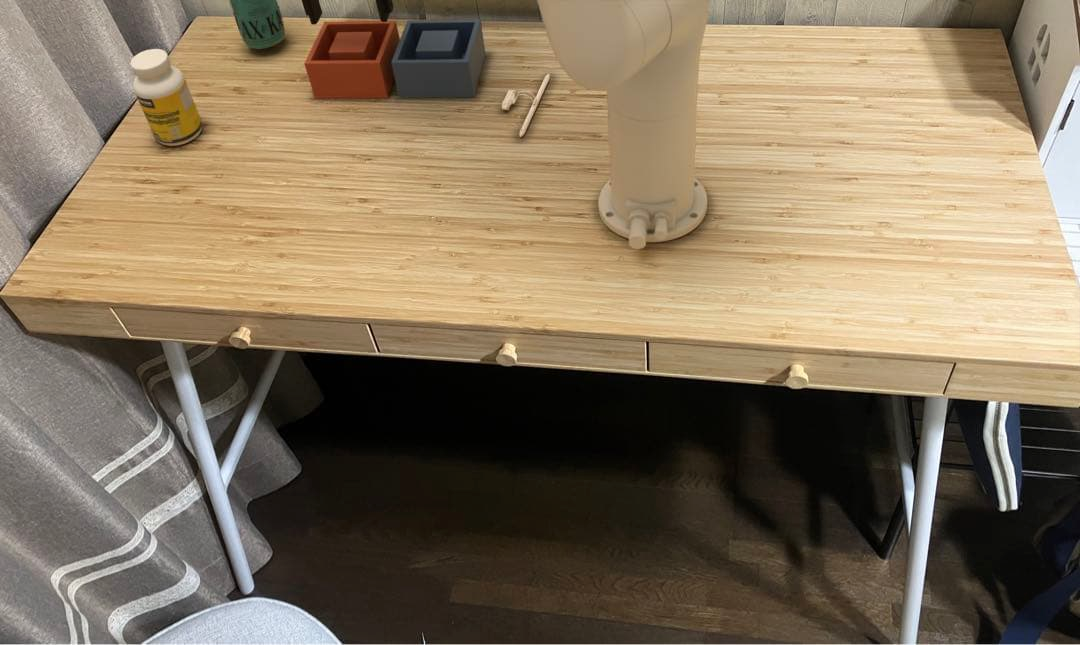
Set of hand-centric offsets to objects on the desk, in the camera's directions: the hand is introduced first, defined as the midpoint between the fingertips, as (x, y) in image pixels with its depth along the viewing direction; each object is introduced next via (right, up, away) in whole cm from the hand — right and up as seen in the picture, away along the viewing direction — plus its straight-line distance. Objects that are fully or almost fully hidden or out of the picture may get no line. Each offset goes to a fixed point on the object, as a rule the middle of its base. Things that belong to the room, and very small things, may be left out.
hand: (351, 18), depth 135 cm
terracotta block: (0, -6, +6) cm, 9 cm away
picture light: (+23, -12, -1) cm, 26 cm away
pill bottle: (-23, -15, +1) cm, 28 cm away
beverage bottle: (-15, 0, +15) cm, 21 cm away
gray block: (+12, -6, +5) cm, 14 cm away
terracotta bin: (0, -6, +7) cm, 9 cm away
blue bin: (+12, -6, +5) cm, 14 cm away
